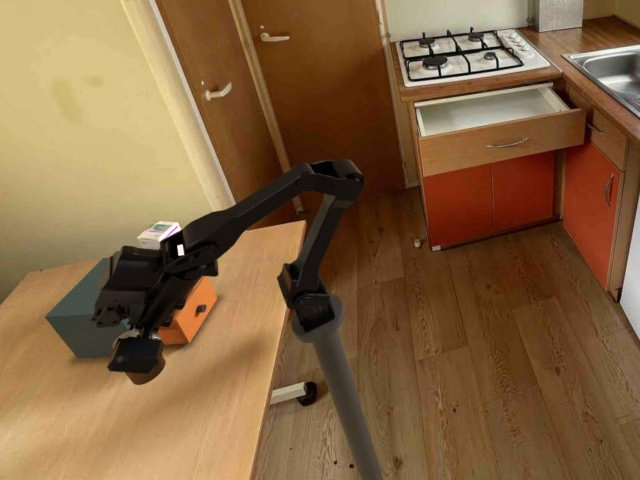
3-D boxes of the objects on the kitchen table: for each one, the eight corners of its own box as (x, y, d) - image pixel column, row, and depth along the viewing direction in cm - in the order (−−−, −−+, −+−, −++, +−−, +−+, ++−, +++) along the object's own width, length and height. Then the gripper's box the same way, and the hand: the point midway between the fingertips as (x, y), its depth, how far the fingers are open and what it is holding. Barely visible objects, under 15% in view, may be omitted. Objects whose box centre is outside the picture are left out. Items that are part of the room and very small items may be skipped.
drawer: (223, 298, 98) (212, 275, 94) (195, 342, 88) (182, 319, 85) (166, 301, 97) (153, 278, 93) (132, 346, 88) (116, 323, 84)
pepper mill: (170, 353, 81) (146, 319, 76) (159, 380, 76) (133, 346, 71) (139, 361, 79) (113, 328, 74) (126, 389, 75) (98, 355, 70)
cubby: (186, 294, 99) (164, 254, 93) (144, 354, 86) (116, 312, 80) (128, 298, 98) (102, 257, 92) (77, 358, 86) (44, 316, 80)
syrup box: (200, 263, 107) (179, 220, 100) (181, 283, 102) (158, 239, 95) (179, 261, 107) (157, 219, 101) (160, 281, 102) (135, 237, 96)
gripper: (134, 237, 76) (87, 301, 77) (94, 326, 61) (37, 404, 62) (201, 253, 82) (157, 311, 84) (180, 336, 67) (127, 406, 69)
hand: (123, 352), depth 74 cm, fingers closed on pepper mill, 5 cm apart
